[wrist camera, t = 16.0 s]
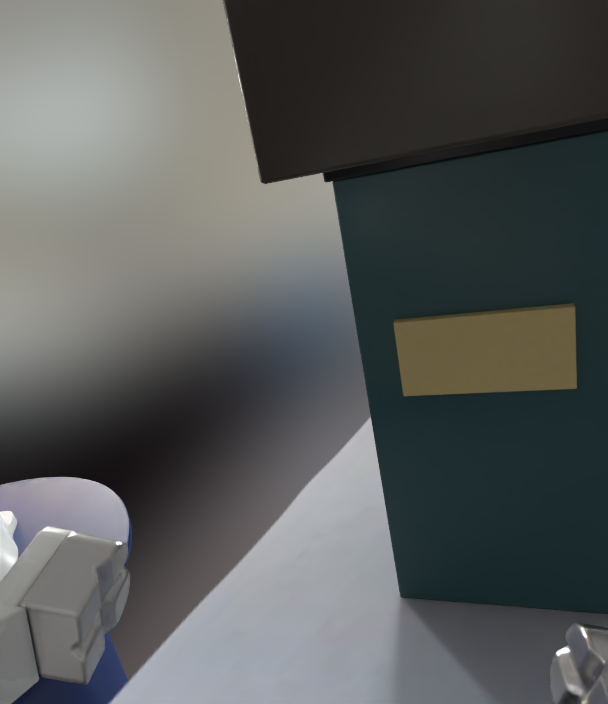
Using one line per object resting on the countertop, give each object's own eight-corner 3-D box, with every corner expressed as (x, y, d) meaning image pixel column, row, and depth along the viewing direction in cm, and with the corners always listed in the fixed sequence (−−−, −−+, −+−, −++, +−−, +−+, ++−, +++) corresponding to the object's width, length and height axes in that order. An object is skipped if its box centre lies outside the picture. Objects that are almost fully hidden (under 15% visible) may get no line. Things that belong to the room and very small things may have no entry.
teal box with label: (394, 603, 33) (319, 160, 24) (409, 511, 40) (357, 152, 32) (629, 623, 28) (640, 96, 20) (596, 517, 36) (593, 104, 28)
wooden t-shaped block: (81, 219, 8) (-29, -121, 6) (349, 156, 24) (334, 58, 23) (1067, 29, 4) (1269, -766, 3) (598, 107, 21) (597, -12, 19)
